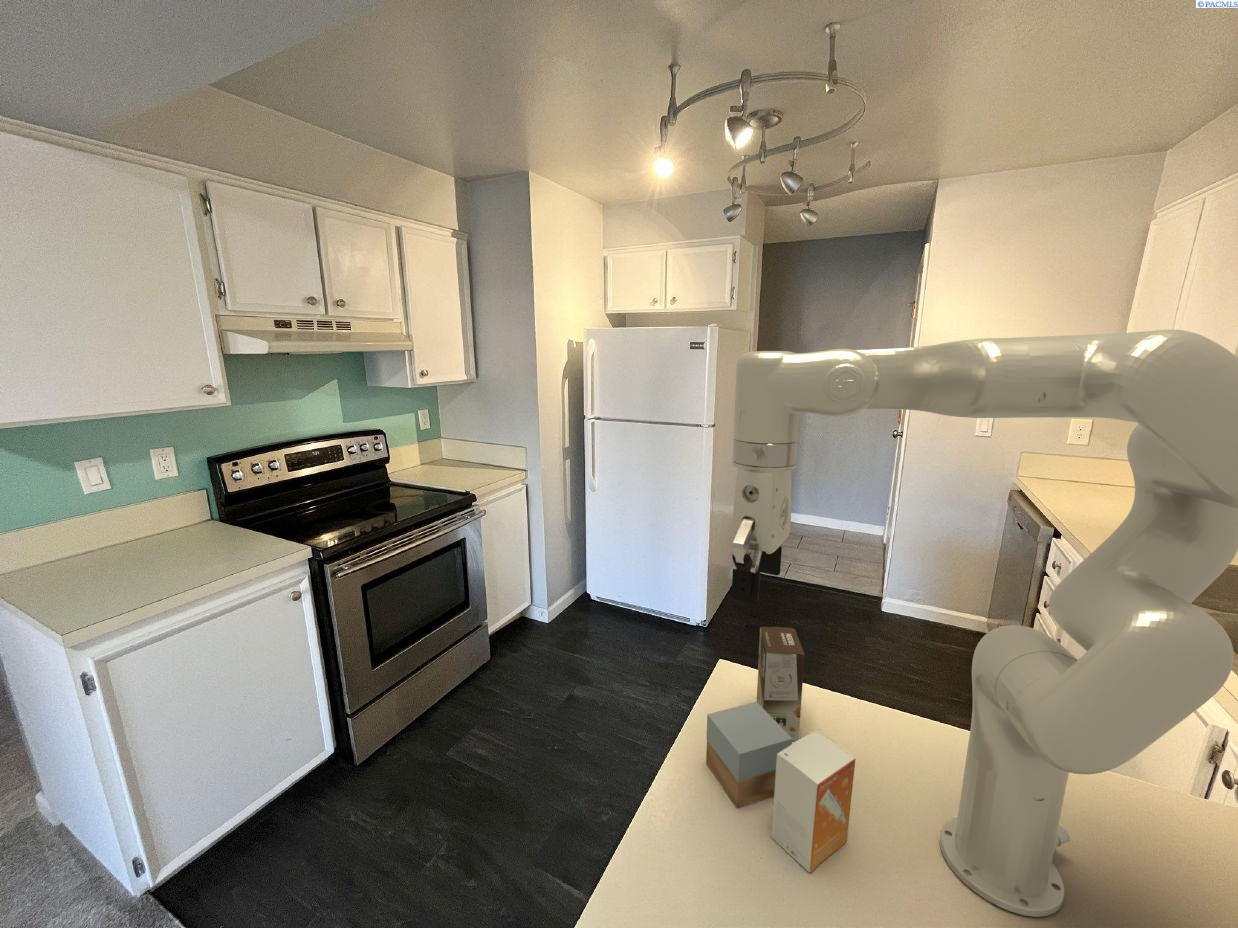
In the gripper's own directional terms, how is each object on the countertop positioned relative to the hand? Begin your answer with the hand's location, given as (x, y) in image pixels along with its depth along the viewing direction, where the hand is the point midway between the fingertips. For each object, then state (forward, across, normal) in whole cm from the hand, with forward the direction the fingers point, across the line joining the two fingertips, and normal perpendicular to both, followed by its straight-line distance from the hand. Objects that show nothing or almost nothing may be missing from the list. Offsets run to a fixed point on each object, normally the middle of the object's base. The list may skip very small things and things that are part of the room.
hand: (757, 585), depth 66 cm
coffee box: (+35, +22, +1) cm, 41 cm away
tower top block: (+30, +7, +2) cm, 31 cm away
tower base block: (+35, +7, +2) cm, 36 cm away
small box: (+35, +1, -9) cm, 36 cm away
